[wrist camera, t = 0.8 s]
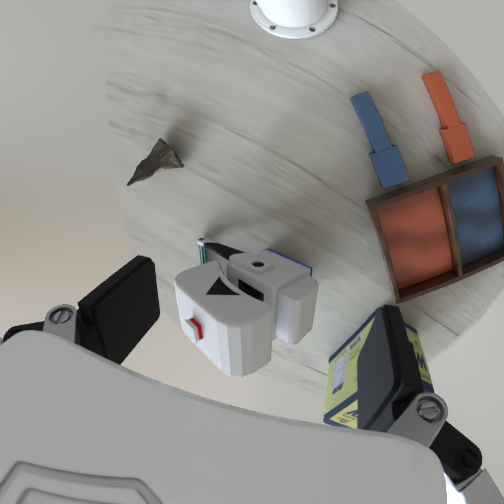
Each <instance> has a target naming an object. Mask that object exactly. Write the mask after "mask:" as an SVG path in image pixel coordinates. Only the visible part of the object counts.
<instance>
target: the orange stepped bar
mask: <svg viewBox="0 0 504 504" xmlns="http://www.w3.org/2000/svg"><path fill="white" fill-rule="evenodd" d="M422 79H423V81H424V83H425V85H426V88H427V90H428V92H429V94H430V97H431V99H432V101H433V104H434V106H435V108H436V111H437V113H438V116H439V119H440V121H441V124H442V127H443V128H442V129H439V131H440V134H441V137H442V140H443V143H444V146H445V149H446V152H447V156H448V159H449V162H452V163H455V164H456V163H458V162H461V161H464V160H467V159H470V158H473V157H475V154H474V151H473V147H472V144H471V140H470V137H469V134H468V131H467V128H466V125H465V123H461V121H460V119H459V116H458V113H457V110H456V108H455V105H454V103H453V100H452V98H451V95H450V93H449V91H448V88H447V86H446V84H445V82H444V79H443V77H442V75H441V73H440V71H437V72H433V73H429V74H426V75H424V76H422Z"/></svg>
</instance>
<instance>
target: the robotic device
mask: <svg viewBox="0 0 504 504" xmlns="http://www.w3.org/2000/svg"><path fill="white" fill-rule="evenodd" d="M197 243H198V244H199V247H200V258H201V265H199V266H196V267H193V268H190V269H188V270H185V271H183V272H181V273H179V274H178V275H177V276H176V278H175V279H174V285H175V291H176V297H177V303H178V308H179V314H180V319H181V325H182V328H183V330H184V333H185V334H186V335H187V336H188V337H189V338H190V339H191V340H192V341H193V342H194V343H195V344H196V345H197V346H198V347H199V348H200V349H201V351H203V352H204V354H205V355H206V356H208V357H209V358H210V359H211V361H212V362H214V363H215V364H216V365H217V366H218V367H219V368H220V369H221V370H222V371H223V372H225V373H227V374H228V375H230V376H238V377H243V376H246V375H249V374H252V373H254V372H255V371H257V370H259V369H260V368H262V367H263V366H265V365H266V364H268V363H269V362H270V360H271V349H272V340H274V339H276V338H277V337H278V338H280V339H281V340H283V341H284V342H286V343H287V344H291V345H293V344H297V343H298V342H299V341H300V340H301V339H302V338H303V337H304V336H305V335H306V334H307V333H308V332H309V331H310V330H311V329H312V325H313V319H314V312H315V305H316V298H317V290H318V282H317V281H316V280H314V279H313V278H312V277H311V276H312V268H311V267H308V266H306V265H304V264H302V263H299V262H297V261H295V260H293V259H290V258H288V257H286V256H284V255H281V254H279V253H277V252H274V251H272V250H270V249H265V250H263V251H262V253H261V254H260V255H259V256H255V255H253V254H251V253H248V252H242V251H239V250H236V249H233V248H230V247H228V246H225V245H222V244H219V243H218V242H216V241H214V240H211V239H209V238H206V237H203V238H200V239H197ZM206 248H208V249H211V250H212V251H214V252H215V253H217V254H219V255H220V256H222V257H224V258H225V259H227V260H229V262H230V263H228V264H227V275H228V279H227V278H226V277H225V275H224V273H223V272H222V268H221V266H220V263H219V262H218V261H210V262H208V263H207V252H206Z"/></svg>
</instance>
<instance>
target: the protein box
mask: <svg viewBox="0 0 504 504" xmlns="http://www.w3.org/2000/svg"><path fill="white" fill-rule="evenodd" d="M378 309H379V308H377V310H376V311H375V312H374V313H373V314H372V315H371V316H370V317H369V318H368V320H367V321H366V322H365V323H364V324H363V325H362V326H361V327H360V328H359V329H358V330H357V331H356V332H355V333H354V334H353V335H352V336H351V337H350V338H349V339H348V340H347V341H346V342H345V343H344V344H343V345H342V346H341V347H340V348H339V349H338V350H337V351H336V352H335V353H334V354H333V355H332V356H331V357H330V358H329V364H328V377H327V390H326V401H325V410H324V420H323V423H326V424H329V425H332V426H338V427H346V428H355V429H357V359H358V356H359V354H360V351H361V349H362V347H363V345H364V342H365V340H366V338H367V336H368V333H369V331H370V329H371V326H372V324H373V321H374V319H375V316H376V314H377V311H378ZM404 325H405V328H406V332H407V335H408V339H409V341H410V342H412V344H413V347H414V351H415V355H416V359H417V363H418V367H419V371H420V375H421V379H422V384H423V388H424V392H431V393H434V389H433V385H432V381H431V377H430V374H429V370H428V366H427V363H426V359H425V356H424V353H423V350H422V346H421V343H420V340H419V337H418V334H417V331H416V330H415V329H413V328H411V327H410V326H408V325H407V324H405V323H404Z"/></svg>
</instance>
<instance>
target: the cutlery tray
mask: <svg viewBox="0 0 504 504" xmlns="http://www.w3.org/2000/svg"><path fill="white" fill-rule="evenodd" d="M365 202H366V204H367V207H368V210H369V213H370V216H371V219H372V222H373V225H374V228H375V231H376V234H377V237H378V241H379V244H380V247H381V251H382V254H383V258H384V261H385V265H386V268H387V272H388V276H389V280H390V284H391V288H392V292H393V295H394V298H395V302H396V304H398V303H401V302H404V301H407V300H410V299H413V298H416V297H418V296H421V295H424V294H426V293H429V292H432V291H434V290H437V289H440V288H442V287H445V286H447V285H450V284H452V283H455V282H457V281H460V280H462V279H464V278H467V277H469V276H471V275H474V274H476V273H478V272H480V271H483V270H485V269H487V268H489V267H491V266H494V265H496V264H498V263H500V262H502V261H504V163H503V158H502V157H498V156H493V155H492V156H489V157H486V158H483V159H480V160H477V161H475V162H472V163H469V164H466V165H463V166H461V167H458V168H455V169H452V170H449V171H447V172H444V173H441V174H438V175H435V176H433V177H430V178H427V179H424V180H421V181H419V182H416V183H413V184H410V185H408V186H405V187H402V188H399V189H397V190H394V191H391V192H388V193H386V194H383V195H380V196H378V197H375V198H372V199H369V200H367V201H365Z"/></svg>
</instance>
